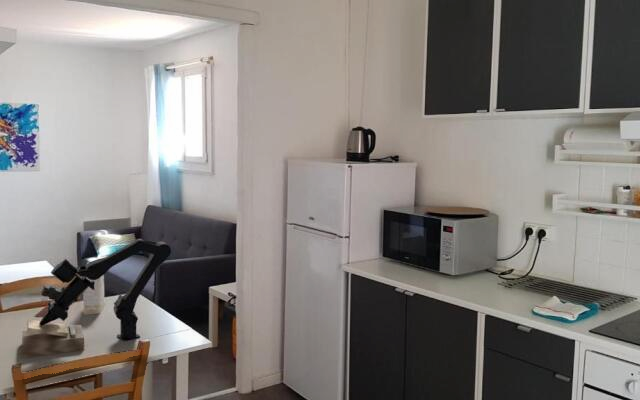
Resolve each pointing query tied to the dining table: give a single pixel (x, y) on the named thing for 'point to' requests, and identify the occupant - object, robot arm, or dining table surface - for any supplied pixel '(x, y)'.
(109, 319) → the dining table surface
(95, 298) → the coffeecake box
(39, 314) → the wooden tablet
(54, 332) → the oak plank
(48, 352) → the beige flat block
